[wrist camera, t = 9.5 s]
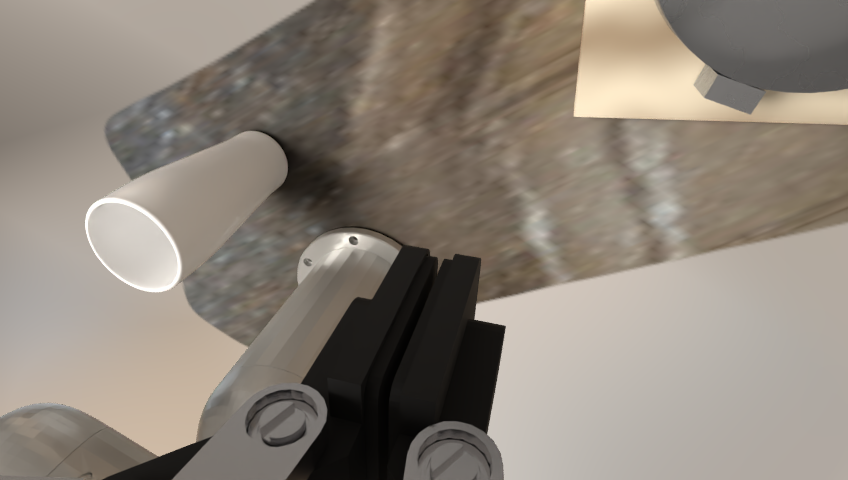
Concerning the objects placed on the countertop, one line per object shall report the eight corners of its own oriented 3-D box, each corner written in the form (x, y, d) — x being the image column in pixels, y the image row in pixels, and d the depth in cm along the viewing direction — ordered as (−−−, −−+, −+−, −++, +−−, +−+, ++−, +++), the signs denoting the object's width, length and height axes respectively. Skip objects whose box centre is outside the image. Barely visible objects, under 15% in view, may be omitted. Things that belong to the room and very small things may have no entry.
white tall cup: (314, 166, 42) (202, 261, 29) (269, 209, 45) (152, 311, 33) (253, 102, 40) (108, 175, 28) (212, 152, 44) (67, 236, 31)
